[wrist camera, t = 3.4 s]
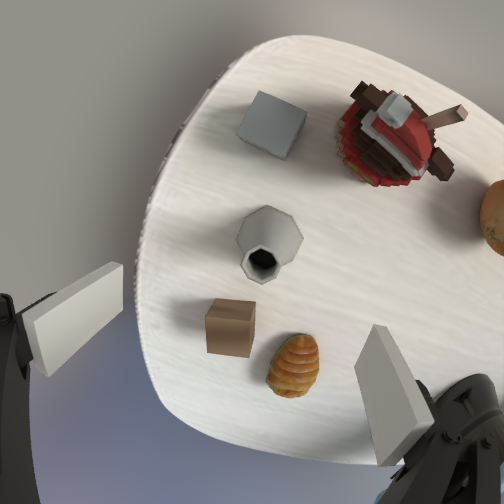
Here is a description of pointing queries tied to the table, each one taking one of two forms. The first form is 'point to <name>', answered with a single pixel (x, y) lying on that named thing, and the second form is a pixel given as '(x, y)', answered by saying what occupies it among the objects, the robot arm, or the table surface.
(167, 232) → the table surface
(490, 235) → the onion
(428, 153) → the cake
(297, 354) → the pastry
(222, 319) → the walnut block
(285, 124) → the slate-grey block
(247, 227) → the flask
